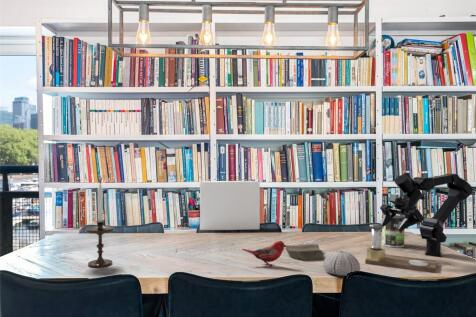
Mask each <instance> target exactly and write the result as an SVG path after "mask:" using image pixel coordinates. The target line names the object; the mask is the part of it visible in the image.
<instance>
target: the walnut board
mask: <svg viewBox="0 0 476 317" xmlns="http://www.w3.org/2000/svg"><path fill="white" fill-rule="evenodd" d="M409 260H421V261H425V262H427V263H428V266H414V265H410V264H409V263H408V261H409ZM364 261H365V262H364V264H367V265H374V266H379V267H380V266H381V267H388V268H389V267H390V268H397V269H404V270H410V271H411V270H412V271H418V272H427V273H436V270H437V266H438V265H437V264H438V263H437V262H438V261H437V260H435V259H427V258H419V257H418V258H417V257H409V256H404V255H403V256H401V255H393V254H386V253H385V260H384V261H372V260H369V259H367V258H366V259H365V260H364Z"/></svg>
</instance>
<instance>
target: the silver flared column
mask: <svg viewBox="0 0 476 317" xmlns="http://www.w3.org/2000/svg"><path fill="white" fill-rule="evenodd" d="M369 228H371V239H370V240H371V245H370V247H371V250H377V251H379V250H381V248H382V228H383V225H381V224H378V223H370V224H369Z"/></svg>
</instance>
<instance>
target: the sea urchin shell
mask: <svg viewBox="0 0 476 317" xmlns="http://www.w3.org/2000/svg"><path fill="white" fill-rule="evenodd" d="M322 264H323V269H324V271H325V272H327V273H328V274H331V275H335V276H343V277H345V276H347V275H346V274H347V273H350V272H354V271H359V272H360V270H361V265H360V262H359V260H358V259H357V258H356V257H355V255H353V254H352V253H351V252H348V251H345V250H336V251H332V252H331V253H329V254H328V255H327V256H326V257H325V258H324V260H323V263H322Z"/></svg>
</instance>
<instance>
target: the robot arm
mask: <svg viewBox="0 0 476 317" xmlns="http://www.w3.org/2000/svg"><path fill="white" fill-rule="evenodd" d="M394 184H395V185H396V186H397V187H398V189H399V190H400V191H401V193H402V194H401V195H399V194H394V193H393V194H392V193H390V194H389V196H388V197H389V198H388V201H387V202H388V203H389V202H390V203H392V205H393V206H392V205H391V204H386V203H383V204H381V206H380V207H379V209H380V210H381V212H382V214H383V220H381V224H380V225H383V227H384V226H385V225H387V224H388V223H389V222H390V221H391V220H392V219H393V218H392V217H394V216H395V215H399V216H404V217H405V219H404V220H403V222H402V223H401V225H400V227H399V229H398V230H399V231H401V230H403V229H404V230H405V229H407V228H409V227H412V226H414V225H417V224H421V225H420V226H419V232H420V236H421V239H422V240H425V241H426V244H425V245H426V246H425V247H426V250H425V252H424V255H427V256H434V257H442V256H443V252H442V243H445V242H447V236H446V234H445V233H444V224H445V223H446V221H447V220H448V218H449V217H450V215H451V214H452V213H453V212H454V210H455V209H456V207H457V206H459V205H458V204H460V202H462V201H465V200H466V199H468V198H469V197H470V196H471V195H472V193H473V187H472V185H471V184H470V183H469V182H468V180H465V179H464V178H462V177H461V176H460V175H458V174H456V173H449V172H448V173H445V174H440V175H436V176H430V177H425V176H424V177H423V176H422V177H421V176H415V177H413V179H412V177H411V175H410V173H408V172H403V174H400V175H398V176H396V177H395V179H394ZM442 185H443V186H444V185H446V187H447V188H448V197H447V198H446V199H445V200H444V201H443V203H442V204H441V206H440V207H439V208H438V209H437V211H436V212H435V214H434V215H433V216H432V217H425V218H424V215H423V214H422V213H421V212H420V210H419V209H417V203H418V202H419V201H420V200H422V201H425V200H426V198H425V193H423V192H429V191H431V190H433V189H434V188H435V187H438V186H442Z"/></svg>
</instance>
